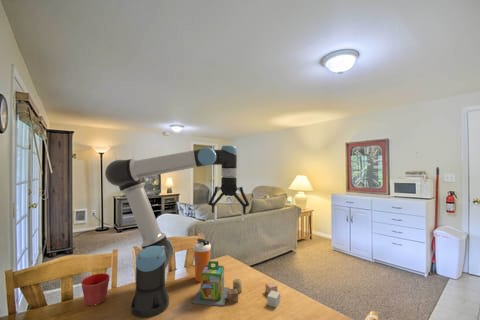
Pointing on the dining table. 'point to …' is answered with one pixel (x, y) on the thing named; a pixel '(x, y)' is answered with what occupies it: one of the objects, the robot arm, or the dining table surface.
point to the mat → (211, 302)
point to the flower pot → (95, 288)
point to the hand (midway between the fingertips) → (228, 219)
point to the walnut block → (232, 295)
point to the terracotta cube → (271, 287)
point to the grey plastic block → (273, 299)
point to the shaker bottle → (201, 257)
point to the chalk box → (212, 281)
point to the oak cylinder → (237, 285)
